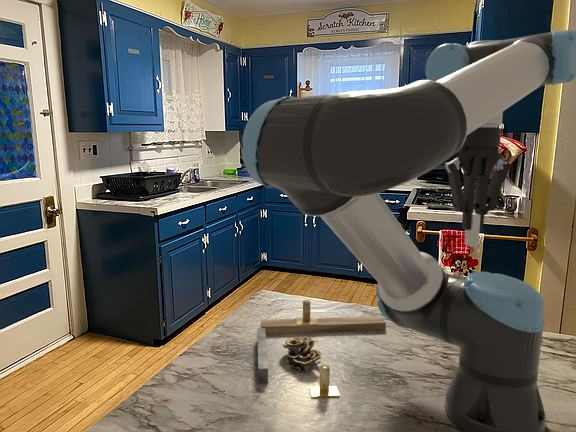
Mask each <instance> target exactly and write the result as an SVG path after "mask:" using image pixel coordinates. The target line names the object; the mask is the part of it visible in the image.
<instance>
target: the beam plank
mask: <svg viewBox="0 0 576 432" xmlns="http://www.w3.org/2000/svg"><path fill="white" fill-rule="evenodd" d="M386 325H387V322H386V320H385V319H384V318H383V317H382V315H379V316H377V315H376V316H349V317H348V316H347V317H345V316H343V317H340V316H339V317H316V316H311V300H310V299H304V300H302V316H301V317H295V318H284V319H283V318H282V319H281V318H279V319H260V328H265V332H266V336H267V335H269V336H270V335H290V334H291V335H294V334H295V335H296V334H323V333H353V332H356V333H357V332H383V331H385V332H386V331H387V326H386Z"/></svg>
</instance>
